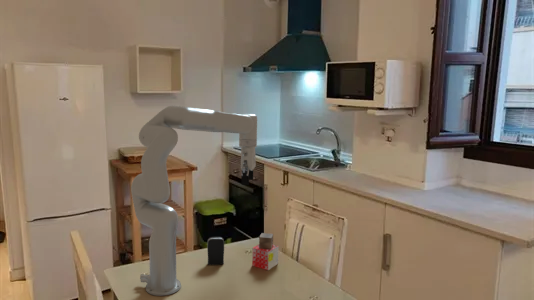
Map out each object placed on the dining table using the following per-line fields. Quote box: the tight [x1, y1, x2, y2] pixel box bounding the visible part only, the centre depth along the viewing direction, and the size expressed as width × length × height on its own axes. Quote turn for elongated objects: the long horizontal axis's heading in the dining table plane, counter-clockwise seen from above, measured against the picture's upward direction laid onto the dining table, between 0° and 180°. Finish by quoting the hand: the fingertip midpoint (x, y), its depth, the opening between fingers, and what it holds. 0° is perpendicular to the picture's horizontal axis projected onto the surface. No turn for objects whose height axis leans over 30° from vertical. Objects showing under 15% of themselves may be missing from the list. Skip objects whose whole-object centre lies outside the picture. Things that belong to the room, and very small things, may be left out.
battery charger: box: [206, 236, 225, 266], centre depth 179 cm, size 7×4×11 cm, turn 100°
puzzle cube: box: [251, 244, 279, 271], centre depth 179 cm, size 8×8×8 cm
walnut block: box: [258, 232, 274, 250], centre depth 178 cm, size 5×5×5 cm
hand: (247, 182), depth 184 cm, fingers open, 9 cm apart
